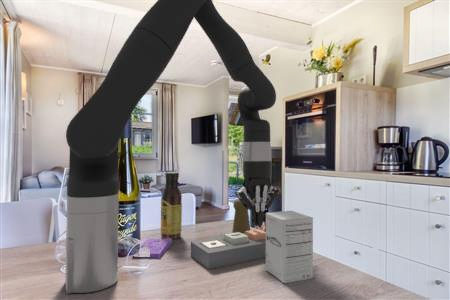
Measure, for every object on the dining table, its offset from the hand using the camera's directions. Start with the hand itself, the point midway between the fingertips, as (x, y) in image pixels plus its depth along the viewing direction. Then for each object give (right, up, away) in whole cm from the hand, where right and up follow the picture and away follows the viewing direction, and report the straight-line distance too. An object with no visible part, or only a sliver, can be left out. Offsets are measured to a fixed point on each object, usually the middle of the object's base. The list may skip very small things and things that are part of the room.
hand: (257, 225), depth 76 cm
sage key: (-6, -4, -3) cm, 8 cm away
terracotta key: (0, -4, 0) cm, 4 cm away
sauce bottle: (-25, -7, +12) cm, 29 cm away
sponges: (-28, -7, +1) cm, 29 cm away
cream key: (-11, -5, -6) cm, 14 cm away
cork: (-3, -7, +17) cm, 18 cm away
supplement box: (+5, -7, -15) cm, 17 cm away
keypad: (-6, -7, -3) cm, 9 cm away
